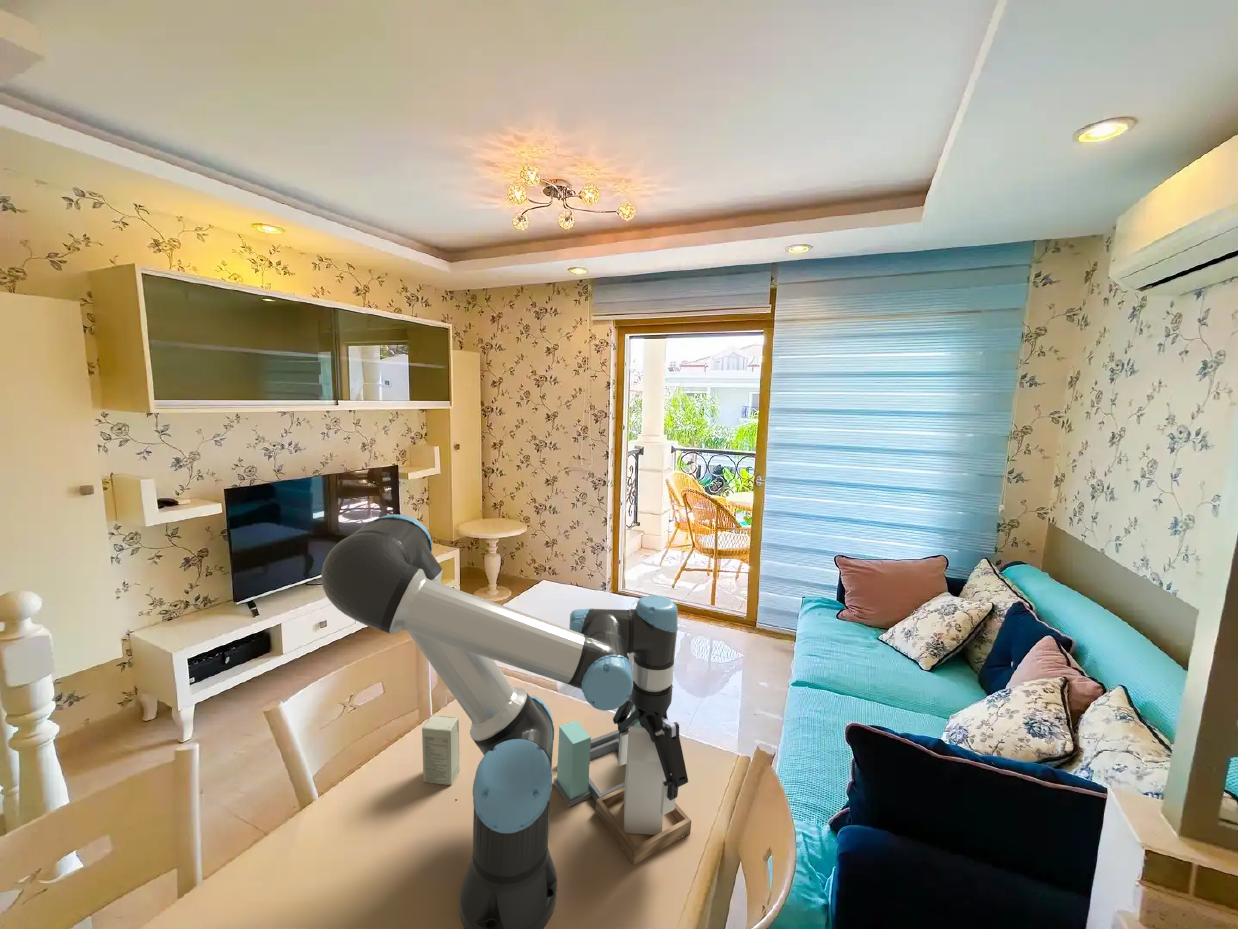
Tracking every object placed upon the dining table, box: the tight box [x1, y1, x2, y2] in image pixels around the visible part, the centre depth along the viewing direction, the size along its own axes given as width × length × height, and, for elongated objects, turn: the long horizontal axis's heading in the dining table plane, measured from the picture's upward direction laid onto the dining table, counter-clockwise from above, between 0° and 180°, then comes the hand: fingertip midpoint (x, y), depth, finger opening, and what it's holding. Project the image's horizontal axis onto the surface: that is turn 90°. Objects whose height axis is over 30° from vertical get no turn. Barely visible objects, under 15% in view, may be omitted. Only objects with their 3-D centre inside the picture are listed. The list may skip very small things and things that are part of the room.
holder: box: [553, 705, 642, 808], centre depth 107 cm, size 23×14×13 cm, turn 123°
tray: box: [595, 786, 692, 866], centre depth 95 cm, size 13×13×3 cm
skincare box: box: [421, 715, 461, 786], centre depth 103 cm, size 6×4×12 cm
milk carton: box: [624, 726, 665, 835], centre depth 94 cm, size 7×7×19 cm
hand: (644, 785), depth 95 cm, fingers open, 13 cm apart
